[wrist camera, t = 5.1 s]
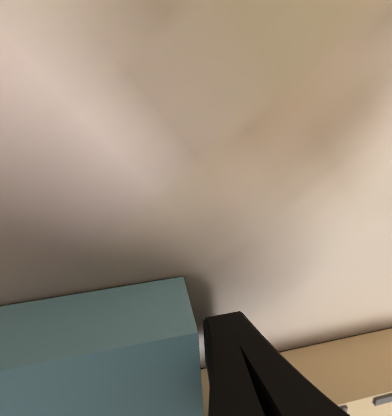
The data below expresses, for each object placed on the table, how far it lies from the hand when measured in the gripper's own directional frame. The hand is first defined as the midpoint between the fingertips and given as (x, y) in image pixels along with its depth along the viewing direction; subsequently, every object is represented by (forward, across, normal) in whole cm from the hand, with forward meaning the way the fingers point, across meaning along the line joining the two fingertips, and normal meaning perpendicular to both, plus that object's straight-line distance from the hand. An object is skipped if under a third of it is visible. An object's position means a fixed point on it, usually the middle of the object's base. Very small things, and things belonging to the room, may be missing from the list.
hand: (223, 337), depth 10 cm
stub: (+1, +4, 0) cm, 4 cm away
